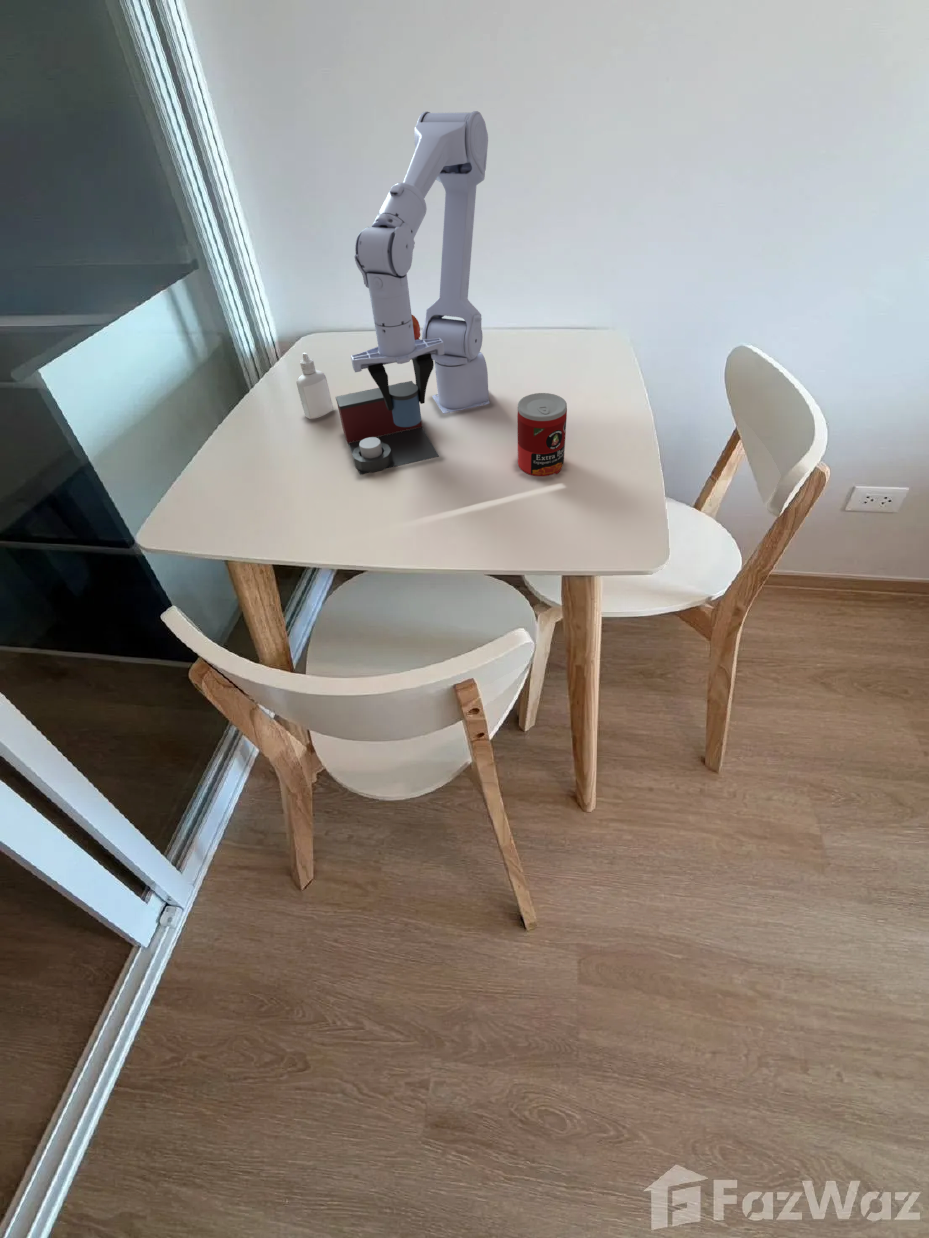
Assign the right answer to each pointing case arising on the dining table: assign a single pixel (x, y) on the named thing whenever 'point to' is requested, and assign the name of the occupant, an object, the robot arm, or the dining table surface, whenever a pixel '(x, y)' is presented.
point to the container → (405, 404)
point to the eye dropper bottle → (313, 390)
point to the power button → (370, 447)
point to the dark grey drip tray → (395, 451)
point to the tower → (367, 415)
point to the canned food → (541, 433)
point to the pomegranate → (416, 328)
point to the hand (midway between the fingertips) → (405, 404)
